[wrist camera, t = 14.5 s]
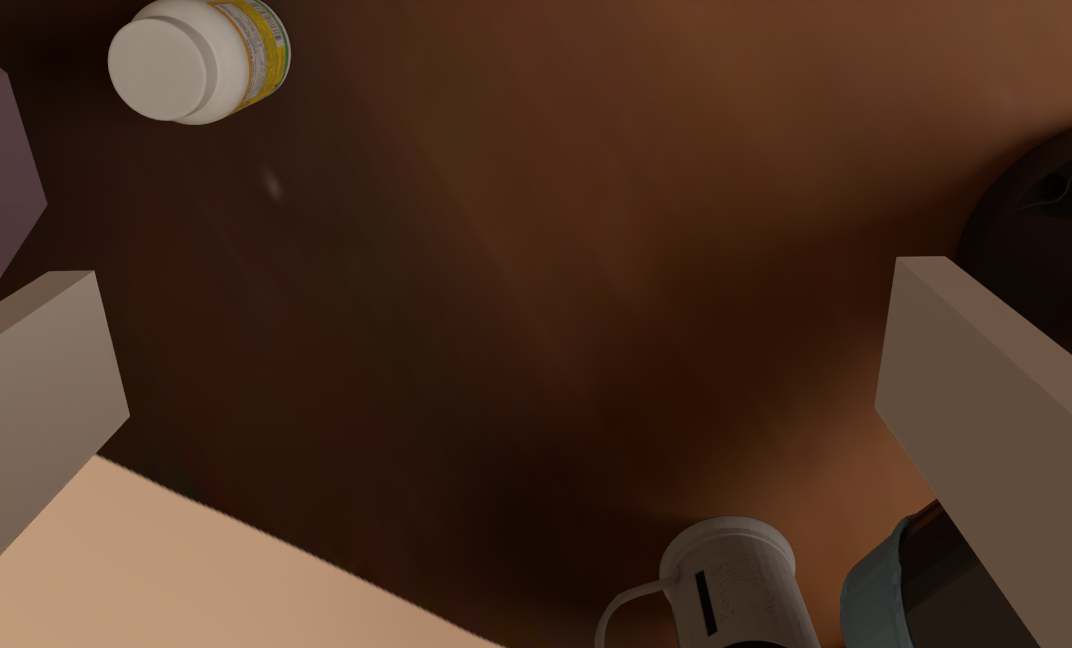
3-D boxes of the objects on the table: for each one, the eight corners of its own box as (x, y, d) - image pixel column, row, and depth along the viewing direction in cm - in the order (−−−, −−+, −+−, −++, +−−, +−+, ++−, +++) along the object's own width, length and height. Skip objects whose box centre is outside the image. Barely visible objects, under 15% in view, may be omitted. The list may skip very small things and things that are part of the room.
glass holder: (753, 640, 58) (814, 855, 44) (560, 569, 56) (561, 772, 42) (820, 544, 54) (909, 744, 40) (619, 466, 52) (640, 648, 39)
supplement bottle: (301, 8, 42) (233, 23, 33) (284, 114, 44) (215, 153, 35) (193, -24, 42) (95, -18, 33) (180, 84, 44) (85, 117, 35)
